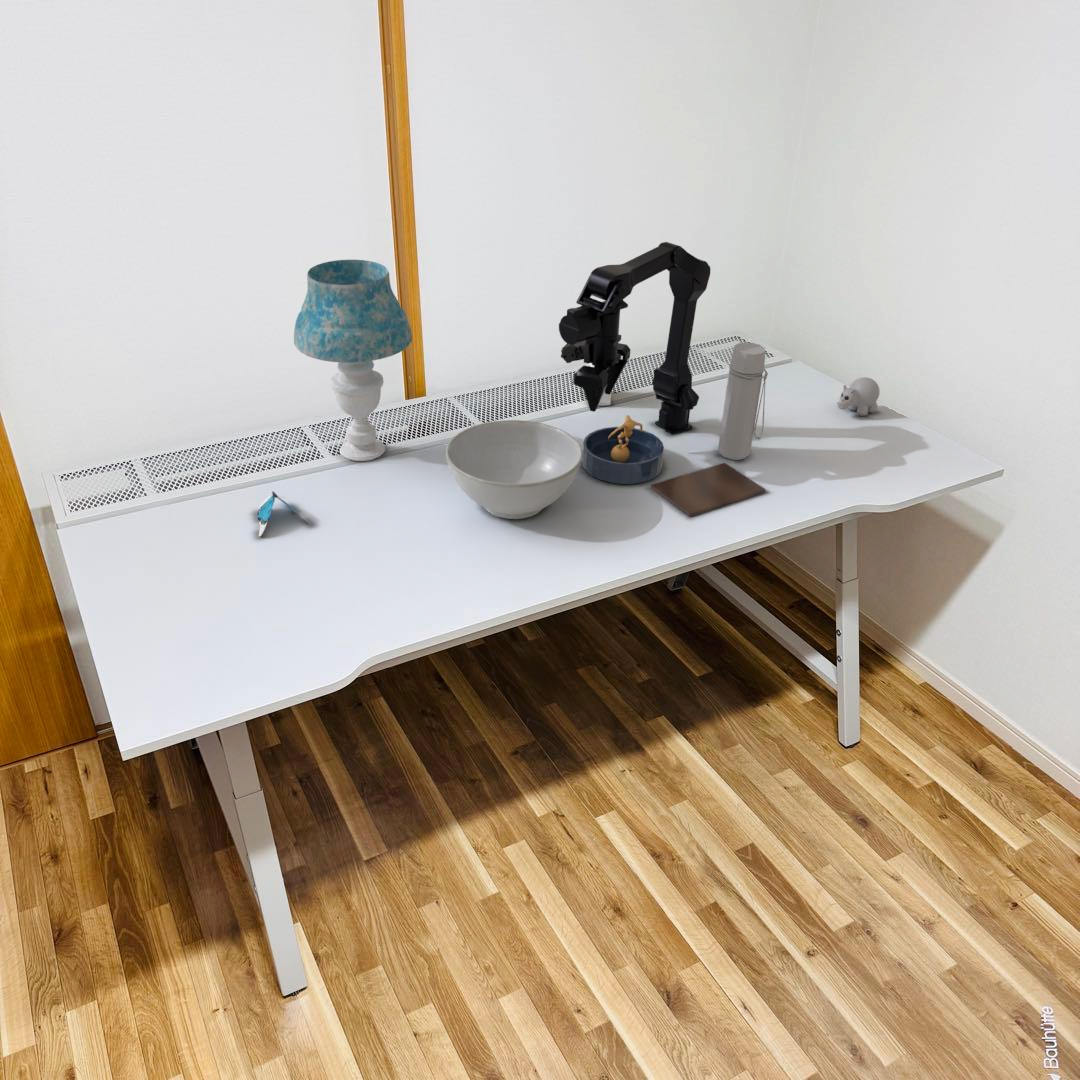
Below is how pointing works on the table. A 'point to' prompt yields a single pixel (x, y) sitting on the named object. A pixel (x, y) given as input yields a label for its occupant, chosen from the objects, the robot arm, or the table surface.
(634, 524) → the table surface
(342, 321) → the table lamp
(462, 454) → the decorative bowl
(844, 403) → the chubby cartoon animal
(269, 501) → the decorative butterfly
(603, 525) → the table surface
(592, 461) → the basin
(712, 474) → the walnut board
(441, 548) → the table surface
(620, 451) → the figurine
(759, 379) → the water bottle
